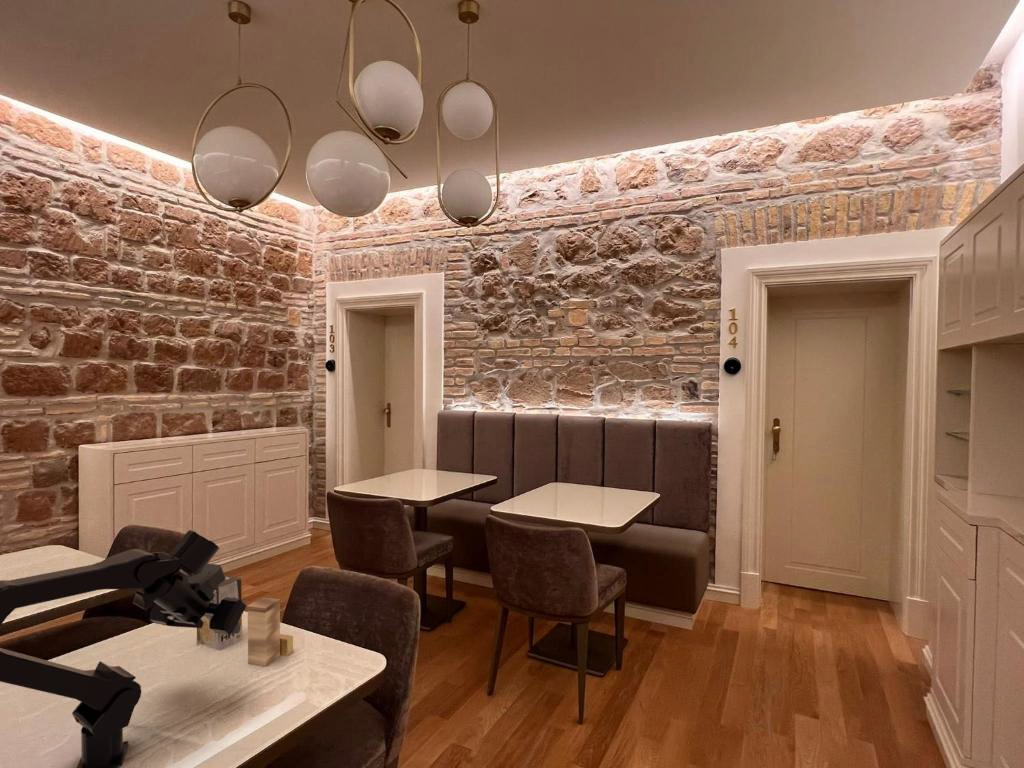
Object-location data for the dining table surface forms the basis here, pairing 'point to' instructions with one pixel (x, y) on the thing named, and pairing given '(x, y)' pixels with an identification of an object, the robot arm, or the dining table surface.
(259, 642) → the block
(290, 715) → the dining table surface
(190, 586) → the robot arm
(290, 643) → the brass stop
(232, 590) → the coffee box
